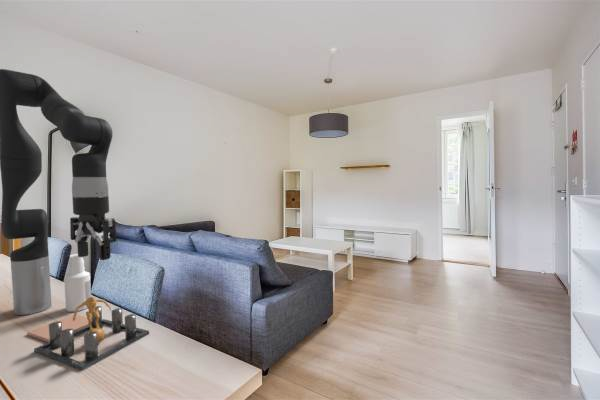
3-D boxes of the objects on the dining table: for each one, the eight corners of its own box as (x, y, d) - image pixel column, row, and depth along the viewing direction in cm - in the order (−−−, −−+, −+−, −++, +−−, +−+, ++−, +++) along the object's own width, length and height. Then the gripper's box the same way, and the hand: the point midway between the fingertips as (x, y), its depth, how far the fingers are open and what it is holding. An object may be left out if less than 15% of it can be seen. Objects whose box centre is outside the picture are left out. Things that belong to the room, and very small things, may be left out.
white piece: (96, 305, 100) (93, 253, 99) (75, 313, 93) (72, 257, 92) (82, 302, 102) (79, 251, 101) (61, 310, 96) (57, 256, 95)
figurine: (78, 353, 71) (75, 305, 70) (72, 345, 75) (69, 299, 74) (116, 339, 77) (114, 295, 76) (109, 332, 81) (107, 289, 80)
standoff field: (34, 351, 72) (32, 328, 71) (103, 321, 87) (102, 302, 87) (82, 370, 64) (80, 344, 64) (149, 333, 80) (148, 312, 80)
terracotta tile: (27, 334, 80) (27, 331, 80) (75, 316, 91) (75, 313, 91) (50, 342, 76) (50, 339, 76) (98, 322, 87) (98, 319, 87)
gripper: (57, 195, 74) (60, 259, 75) (94, 196, 68) (97, 264, 69) (88, 194, 81) (91, 252, 82) (124, 194, 75) (126, 256, 76)
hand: (94, 257), depth 75 cm, fingers open, 8 cm apart
